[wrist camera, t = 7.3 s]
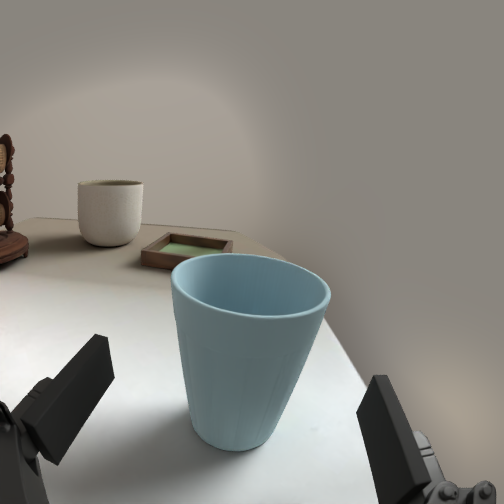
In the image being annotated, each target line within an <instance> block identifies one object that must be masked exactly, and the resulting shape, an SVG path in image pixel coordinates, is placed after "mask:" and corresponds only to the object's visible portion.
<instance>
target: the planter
mask: <svg viewBox="0 0 504 504" xmlns="http://www.w3.org/2000/svg"><path fill="white" fill-rule="evenodd" d="M142 197H143V183H142V182H138V181H125V180H95V181H85V182H80V183H78V222H79V228H80V232H81V234H82V236H83V238H84V239H85V240H86V241H87V242H89V243H90V244H93V245H97V246H119V245H124V244H127V243H129V242H130V241H132V240H133V239H134V238H135V237H136V235H137V233H138V231H139V228H140V222H141V213H142Z"/></svg>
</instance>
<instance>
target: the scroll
mask: <svg viewBox="0 0 504 504" xmlns="http://www.w3.org/2000/svg"><path fill="white" fill-rule="evenodd" d="M14 151H15V149H14V147H13V146H12V141H11V138H10V136H9V135H8V134H4V135H3V136H2V137H1V138H0V173H2V172H3V171H4V169H5V172H6V174H5V175H4V176H3V178H2V177H0V185H2V184H4V185H6V186H5V188H6V192H4V191H0V226H2V225H5V227H6V229H7V230H8V231H0V264H1V263H5V262H8V261H10V260H13V259H15V258H17V257H19V256H21V255H23V256H24V257H27V255H28V248H29V243H28V238H27V237H25V236H23V235H22V234H20V233H18V232H14V231H13V230H12V228H13V226H14V224H13V221H12V218H11V216H12V215H13V214H12V213H11V211H12V210H13V203H12V202H11V201H10V200H11V199H12V193H11V189H10V188H11V187H12V186H11V185H12V184H13V183H14V175H13V174H11V172H12V169H13V167H12V162H11V160H12V159H13V158H12V156H13V154H14Z"/></svg>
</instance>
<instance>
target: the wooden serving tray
mask: <svg viewBox="0 0 504 504" xmlns="http://www.w3.org/2000/svg"><path fill="white" fill-rule="evenodd" d="M232 246H233V241H231V240H224V239H217V238H209V237H201V236H194V235H186V234H178V233H170V232H168V233H167V234H165V235H163V236H162V237H160V238H159V239H157V240H156V241H154V242H153V243H151V244H150V245H148V246H147V247H145V248H144V249H143V250H141V265H145V266H151V267H157V268H163V269H170V270H173V269H174V268H175V267H176V266H177V265H178V264H180V263H181V262H183V261H185V260H188V259H191V258H194V257H198V256H203V255H209V254H222V253H232Z"/></svg>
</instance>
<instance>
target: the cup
mask: <svg viewBox="0 0 504 504" xmlns="http://www.w3.org/2000/svg"><path fill="white" fill-rule="evenodd" d="M171 288H172V298H173V307H174V315H175V320H176V325H177V333H178V341H179V348H180V355H181V362H182V369H183V375H184V381H185V387H186V393H187V399H188V404H189V410H190V415H191V420H192V425H193V428H194V430H195V431H196V433H197V434H198V435H199V436H200V437H201V438H202V439H203V440H204V441H205V442H206V443H208V444H210V445H212V446H214V447H216V448H219V449H222V450H227V451H246V450H249V449H253V448H255V447H258V446H260V445H262V444H263V443H264V442H266V440H267V439H268V438H269V437H270V436H271V434H272V433H273V431H274V429H275V427H276V425H277V423H278V421H279V419H280V417H281V415H282V413H283V411H284V409H285V407H286V405H287V402H288V400H289V398H290V396H291V394H292V392H293V389H294V387H295V385H296V383H297V380H298V378H299V376H300V373H301V371H302V369H303V366H304V364H305V362H306V359H307V357H308V355H309V352H310V350H311V347H312V345H313V342H314V340H315V337H316V335H317V333H318V330H319V327H320V325H321V322H322V320H323V317H324V314H325V312H326V309H327V306H328V303H329V301H330V297H331V293H330V289H329V287H328V285H327V284H326V283H325V282H324V281H323V280H322V279H321V278H320V277H318V276H317V275H316V274H314V273H312V272H310V271H309V270H307V269H305V268H302V267H300V266H297V265H295V264H292V263H289V262H286V261H282V260H278V259H274V258H269V257H264V256H258V255H249V254H234V253H222V254H209V255H203V256H198V257H194V258H191V259H188V260H185V261H183V262H181V263H180V264H178V265H177V266H176V267H175V268H174V269H173V271H172V273H171Z"/></svg>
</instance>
